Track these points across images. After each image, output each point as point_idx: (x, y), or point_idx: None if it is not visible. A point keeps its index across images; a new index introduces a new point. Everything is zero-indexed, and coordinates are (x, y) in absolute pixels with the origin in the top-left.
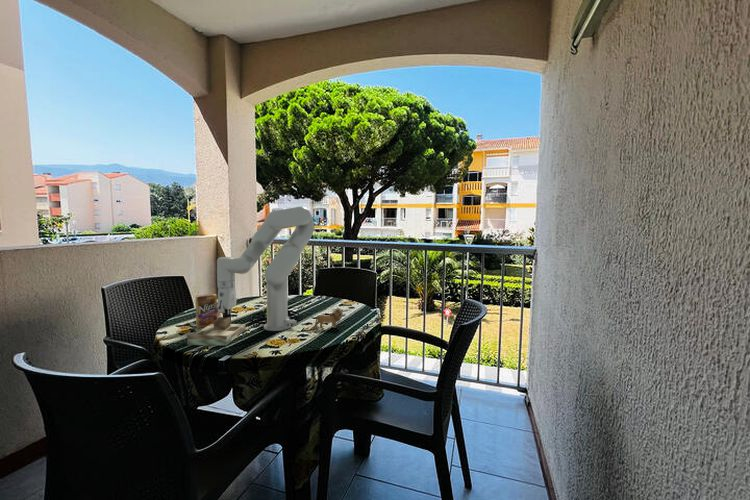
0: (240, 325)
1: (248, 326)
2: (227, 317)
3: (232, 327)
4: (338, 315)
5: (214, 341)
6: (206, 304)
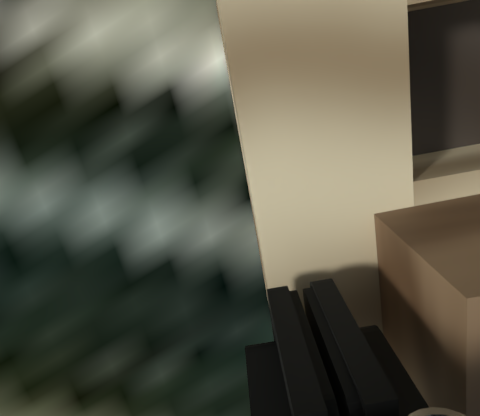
0: (317, 43)
1: (48, 46)
2: (478, 359)
3: (403, 153)
4: None
5: None
6: None
